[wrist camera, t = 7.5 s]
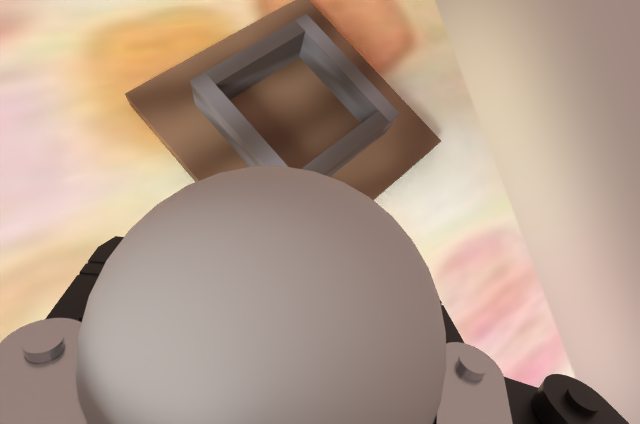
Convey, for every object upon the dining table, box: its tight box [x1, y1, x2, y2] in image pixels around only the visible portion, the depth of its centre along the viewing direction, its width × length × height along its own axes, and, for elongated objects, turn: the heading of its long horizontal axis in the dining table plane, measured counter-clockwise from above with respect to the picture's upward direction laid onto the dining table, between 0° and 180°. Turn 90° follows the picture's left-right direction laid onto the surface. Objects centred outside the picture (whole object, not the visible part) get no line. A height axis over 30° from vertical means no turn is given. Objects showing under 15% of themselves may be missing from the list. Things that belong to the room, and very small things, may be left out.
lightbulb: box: [76, 166, 446, 424], centre depth 9 cm, size 6×6×11 cm
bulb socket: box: [125, 0, 441, 200], centre depth 30 cm, size 18×18×4 cm
